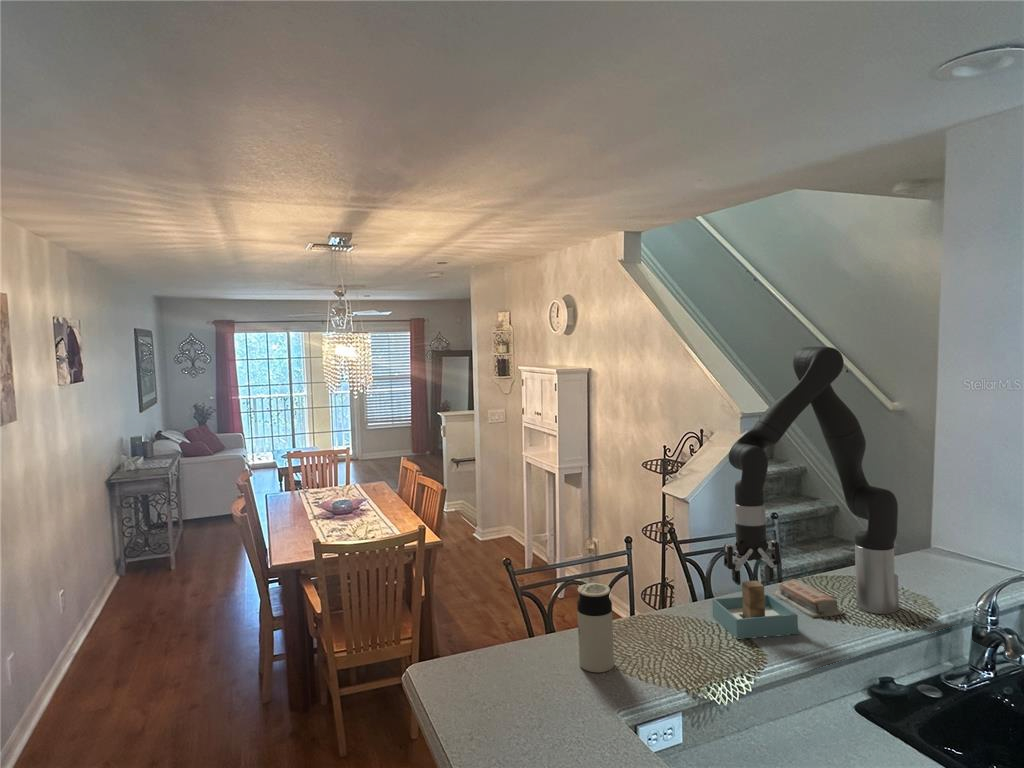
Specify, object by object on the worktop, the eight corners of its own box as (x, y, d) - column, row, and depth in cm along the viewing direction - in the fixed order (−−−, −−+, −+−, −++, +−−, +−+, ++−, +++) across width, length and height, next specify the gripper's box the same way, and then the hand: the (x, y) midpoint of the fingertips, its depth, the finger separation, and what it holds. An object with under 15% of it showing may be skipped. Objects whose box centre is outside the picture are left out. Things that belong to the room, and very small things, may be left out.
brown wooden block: (757, 621, 162) (756, 580, 161) (765, 628, 158) (764, 586, 157) (743, 622, 161) (741, 581, 161) (750, 629, 157) (749, 587, 157)
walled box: (769, 612, 167) (768, 594, 167) (798, 634, 153) (797, 614, 153) (712, 616, 166) (712, 598, 166) (737, 639, 152) (736, 620, 152)
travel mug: (619, 661, 144) (616, 585, 143) (606, 676, 137) (603, 597, 136) (587, 654, 148) (585, 580, 147) (573, 669, 141) (570, 591, 140)
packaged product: (844, 598, 164) (811, 602, 162) (845, 615, 164) (812, 620, 162) (801, 575, 182) (771, 579, 180) (802, 591, 182) (771, 595, 180)
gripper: (768, 515, 163) (771, 575, 164) (717, 519, 162) (720, 579, 162) (784, 522, 156) (786, 585, 156) (730, 526, 154) (733, 590, 155)
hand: (753, 582), depth 159 cm, fingers open, 8 cm apart
